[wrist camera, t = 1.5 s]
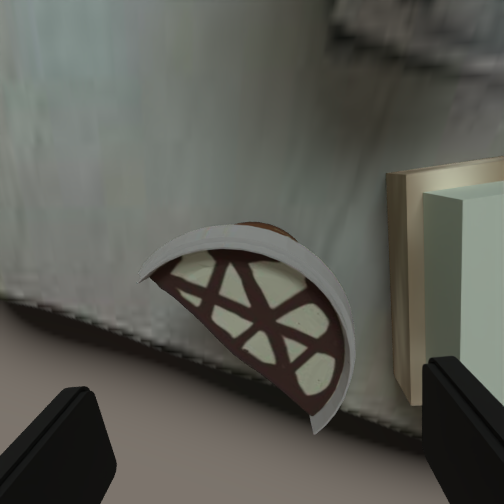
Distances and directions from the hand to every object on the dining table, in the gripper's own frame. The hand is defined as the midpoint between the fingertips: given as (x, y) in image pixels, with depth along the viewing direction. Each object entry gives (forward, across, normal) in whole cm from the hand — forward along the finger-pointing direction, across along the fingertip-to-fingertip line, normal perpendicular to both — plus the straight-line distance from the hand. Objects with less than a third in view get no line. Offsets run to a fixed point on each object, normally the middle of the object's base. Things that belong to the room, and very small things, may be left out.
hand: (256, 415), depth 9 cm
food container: (+15, -1, 0) cm, 15 cm away
